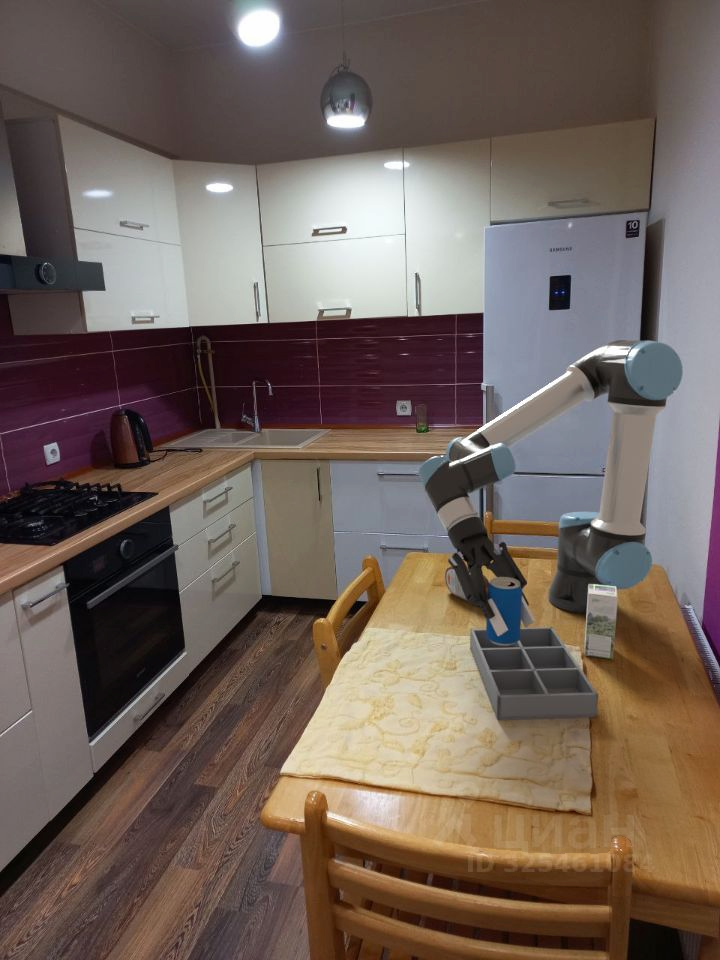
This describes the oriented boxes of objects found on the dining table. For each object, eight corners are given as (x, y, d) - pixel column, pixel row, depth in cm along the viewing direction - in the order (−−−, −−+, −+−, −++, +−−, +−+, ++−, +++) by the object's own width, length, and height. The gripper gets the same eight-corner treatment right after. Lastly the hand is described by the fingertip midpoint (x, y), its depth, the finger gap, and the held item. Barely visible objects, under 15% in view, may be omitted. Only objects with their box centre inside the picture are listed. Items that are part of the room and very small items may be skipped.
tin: (492, 608, 160) (493, 576, 158) (483, 611, 158) (484, 579, 156) (451, 589, 172) (452, 559, 170) (442, 591, 171) (443, 561, 169)
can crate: (551, 645, 140) (552, 627, 139) (596, 716, 115) (598, 694, 114) (470, 648, 140) (470, 629, 139) (497, 719, 114) (497, 697, 113)
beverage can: (520, 649, 122) (523, 590, 119) (485, 646, 123) (487, 587, 120) (519, 633, 128) (521, 577, 125) (486, 631, 129) (488, 574, 126)
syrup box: (612, 647, 139) (616, 584, 136) (613, 660, 134) (618, 595, 130) (584, 643, 141) (588, 582, 138) (584, 656, 136) (588, 592, 132)
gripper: (489, 525, 139) (542, 623, 129) (416, 541, 129) (467, 648, 119) (507, 507, 133) (564, 608, 123) (433, 523, 124) (488, 633, 114)
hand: (516, 628), depth 121 cm, fingers closed on beverage can, 6 cm apart
